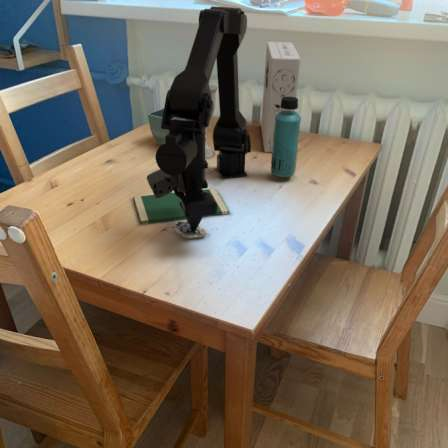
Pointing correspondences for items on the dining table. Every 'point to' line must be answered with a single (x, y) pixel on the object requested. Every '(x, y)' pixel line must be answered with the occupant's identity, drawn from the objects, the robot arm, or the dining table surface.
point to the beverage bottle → (286, 139)
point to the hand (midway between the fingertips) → (191, 226)
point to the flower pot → (158, 125)
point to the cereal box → (278, 85)
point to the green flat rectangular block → (169, 207)
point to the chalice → (213, 93)
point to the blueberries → (188, 230)
